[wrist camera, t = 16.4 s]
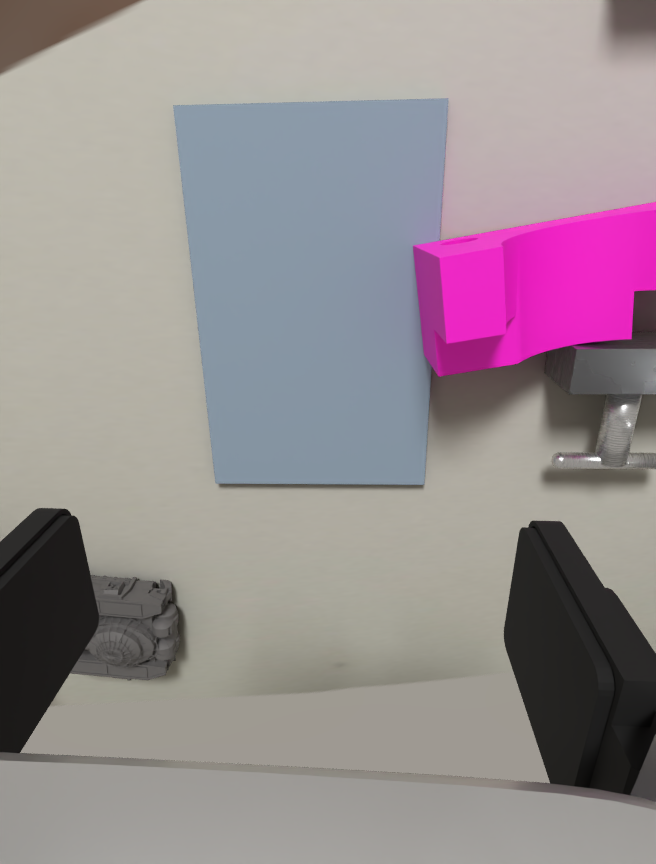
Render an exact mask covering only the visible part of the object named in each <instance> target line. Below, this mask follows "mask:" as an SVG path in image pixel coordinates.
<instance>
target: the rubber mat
mask: <svg viewBox="0 0 656 864" xmlns="http://www.w3.org/2000/svg"><path fill="white" fill-rule="evenodd" d="M173 108H174V117H175V125H176V134H177V143H178V152H179V161H180V170H181V179H182V188H183V197H184V206H185V215H186V224H187V232H188V241H189V250H190V259H191V268H192V277H193V286H194V295H195V304H196V313H197V322H198V331H199V340H200V348H201V357H202V366H203V375H204V384H205V393H206V402H207V411H208V420H209V429H210V438H211V447H212V455H213V464H214V473H215V482H216V483H224V484H398V485H424V479H425V463H426V447H427V431H428V415H429V399H430V384H431V368H432V366H431V364H430V363H429V361H428V360H427V358H426V357H425V355H424V350H423V340H422V330H421V321H420V311H419V301H418V291H417V282H416V272H415V262H414V252H413V246H414V245H419V244H425V243H430V242H436V241H440V225H441V209H442V193H443V177H444V161H445V145H446V129H447V114H448V98H446V99H407V100H368V101H329V102H290V103H251V104H212V105H173Z"/></svg>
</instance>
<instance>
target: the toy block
mask: <svg viewBox="0 0 656 864" xmlns="http://www.w3.org/2000/svg"><path fill="white" fill-rule="evenodd" d="M413 252H414V262H415V272H416V282H417V291H418V301H419V311H420V321H421V330H422V340H423V350H424V355H425V357H426V358H427V360H428V361H429V363H430V364H431V366H432V367H433V369H434V370H435V372H436V373H437V375H438V377H440V376H446V375H452V374H458V373H464V372H470V371H476V370H483V369H489V368H495V367H501V366H507V365H513V364H518V363H520V362H521V361H523V360H525V359H527V358H529V357H531V356H534V355H536V354H539V353H542V352H545V351H549V350H552V349H557V348H561V347H565V346H570V345H576V344H582V343H590V342H598V341H608V340H624V339H632V322H633V304H634V291H644V290H656V202H653V203H648V204H642V205H637V206H631V207H625V208H620V209H614V210H609V211H603V212H598V213H592V214H586V215H581V216H575V217H570V218H564V219H559V220H553V221H547V222H542V223H536V224H531V225H525V226H520V227H514V228H508V229H503V230H497V231H492V232H486V233H481V234H475V235H469V236H464V237H458V238H453V239H447V240H442V241H436V242H430V243H425V244H419V245H414V246H413Z"/></svg>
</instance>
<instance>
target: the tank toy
mask: <svg viewBox="0 0 656 864" xmlns="http://www.w3.org/2000/svg"><path fill="white" fill-rule="evenodd" d="M91 580H92V585H93V589H94V594H95V598H96V603H97V607H98V612H99V623H98V627H97V630H96V632H95V634H94V635H93V637H92V639H91V640H90V642H89V643H88V645H87V647H86V648H85V650H84V651H83V653H82V655H81V656H80V658H79V659H78V661H77V663H76V664H75V666H74V667H73V669H72V670H71V672H70V673H71V674H83V675H94V676H106V677H113V678H121V679H127V680H131V679H140V680H150V679H153V678H157V677H160V676H163V675H166V672H167V670H168V669H169V667H170V665H171V662H172V661H176V658H175V652H176V651H177V650H178V646H179V643H180V636H179V633H178V629H177V624H178V620H179V617H178V612H177V610H176V606H175V605H174V604H173V603H168V601H172V588H171V582H170V581H168V580H160V586H161V589H158V588H156V582H154V581H138V580H137V577H133V579H128V578H117V577H114V578H113V577H106V576H103V577H100V576H95V575H92V576H91Z"/></svg>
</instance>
